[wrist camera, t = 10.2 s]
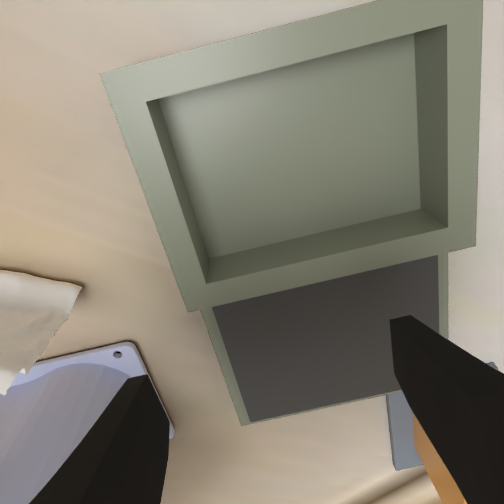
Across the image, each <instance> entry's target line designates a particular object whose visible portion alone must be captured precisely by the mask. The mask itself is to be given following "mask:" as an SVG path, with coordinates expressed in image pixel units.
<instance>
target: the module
mask: <svg viewBox="0 0 504 504" xmlns="http://www.w3.org/2000/svg"><path fill="white" fill-rule="evenodd" d="M412 412H413V411H412ZM413 429H414V447H415V449H416V451H417V453H418V455H419V457H420V459H421V461H422V463H423V465H424V467H425V469H426V471H427V473H428V475H429V477H430V479H431V481H432V482H433V484H434V486H435V488H436V490H437V492H438V494H439V496H440V498H441V500H442V502H443V504H467V502H466V500H465V499H464V497H463V495H462V493H461V491H460V490H459V488H458V486H457V484H456V483H455V481H454V479H453V478H452V476H451V474H450V473H449V471H448V469H447V468H446V466H445V464H444V463H443V461H442V459H441V458H440V456H439V455H438V453H437V451H436V450H435V448H434V446H433V445H432V443H431V441H430V440H429V438H428V436H427V435H426V433H425V431H424V430H423V428H422V426H421V425H420V423H419V421H418V420H417V418H416V416H415V415H414V413H413Z"/></svg>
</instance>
